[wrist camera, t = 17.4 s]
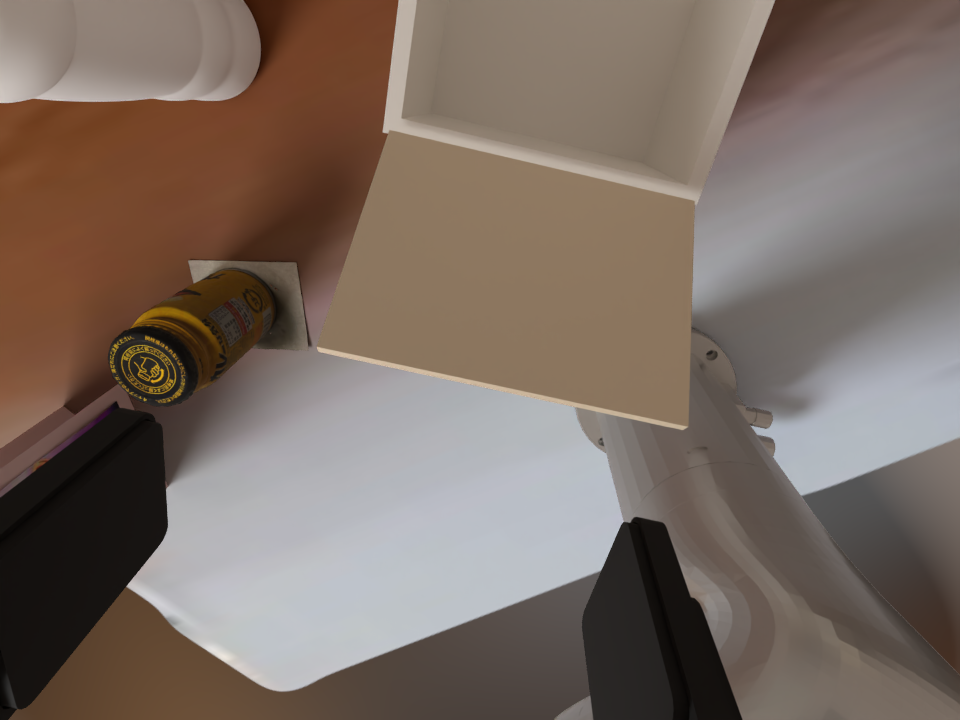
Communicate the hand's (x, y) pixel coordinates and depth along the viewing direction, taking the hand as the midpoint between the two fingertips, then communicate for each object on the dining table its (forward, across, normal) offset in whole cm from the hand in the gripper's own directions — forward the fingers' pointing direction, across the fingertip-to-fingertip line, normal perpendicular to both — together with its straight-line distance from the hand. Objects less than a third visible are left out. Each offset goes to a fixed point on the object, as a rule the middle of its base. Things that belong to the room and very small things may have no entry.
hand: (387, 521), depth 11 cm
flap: (+15, -3, -2) cm, 15 cm away
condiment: (+31, +16, +11) cm, 37 cm away
